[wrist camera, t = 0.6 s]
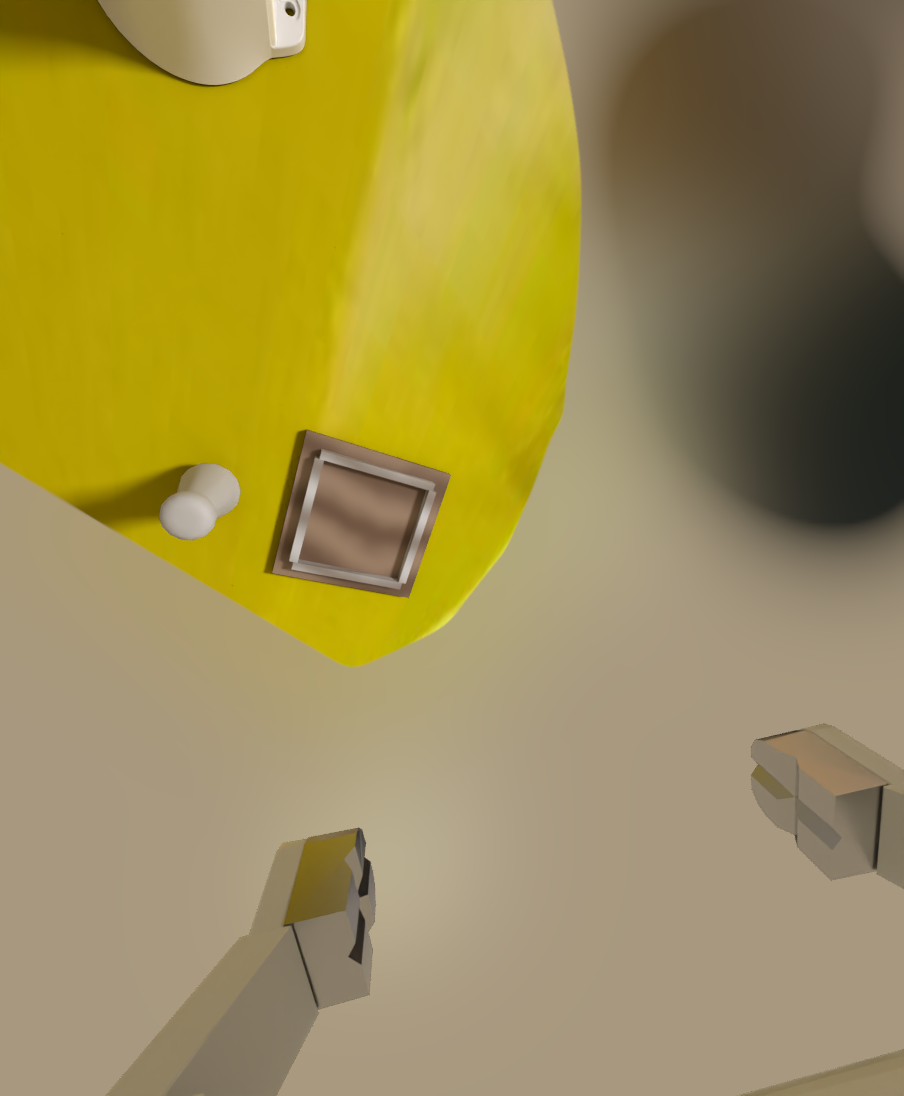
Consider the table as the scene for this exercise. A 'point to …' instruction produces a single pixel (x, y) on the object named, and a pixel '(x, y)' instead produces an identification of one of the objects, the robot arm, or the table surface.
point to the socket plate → (358, 517)
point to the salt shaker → (199, 501)
